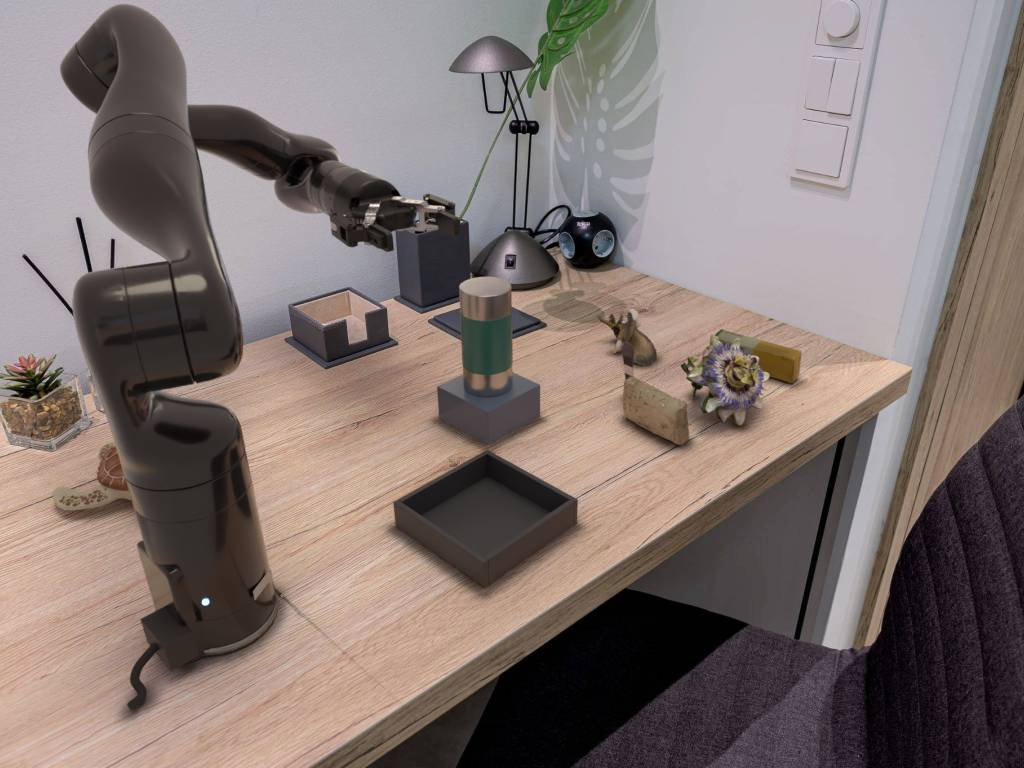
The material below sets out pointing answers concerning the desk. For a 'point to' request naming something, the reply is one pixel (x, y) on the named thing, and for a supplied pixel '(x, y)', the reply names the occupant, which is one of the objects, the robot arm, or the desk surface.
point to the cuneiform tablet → (654, 408)
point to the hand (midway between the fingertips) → (424, 235)
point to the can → (486, 335)
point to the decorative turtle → (106, 493)
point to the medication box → (767, 355)
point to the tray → (485, 516)
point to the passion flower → (727, 380)
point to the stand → (489, 408)
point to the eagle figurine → (632, 337)
